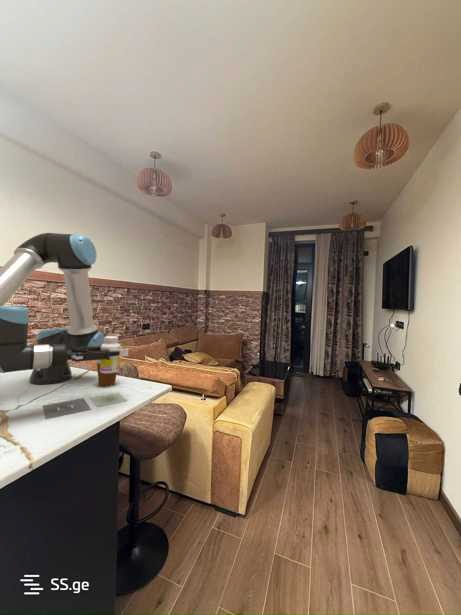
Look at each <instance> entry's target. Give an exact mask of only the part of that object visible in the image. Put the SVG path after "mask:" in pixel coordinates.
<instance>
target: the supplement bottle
mask: <svg viewBox="0 0 461 615" xmlns="http://www.w3.org/2000/svg"><path fill="white" fill-rule="evenodd" d="M118 341H119V336H113V335H112V336H110V335H109V336H104V344H102V345H101V351H107V350H114V349H120V348H121V346H122V345H121V344H120V343H118ZM120 364H121V357H112V358H110V359H109V360H107V359H103V360H100V372H101V373H115V372H117V373H118V372H119V371H120V368H121V366H120Z"/></svg>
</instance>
